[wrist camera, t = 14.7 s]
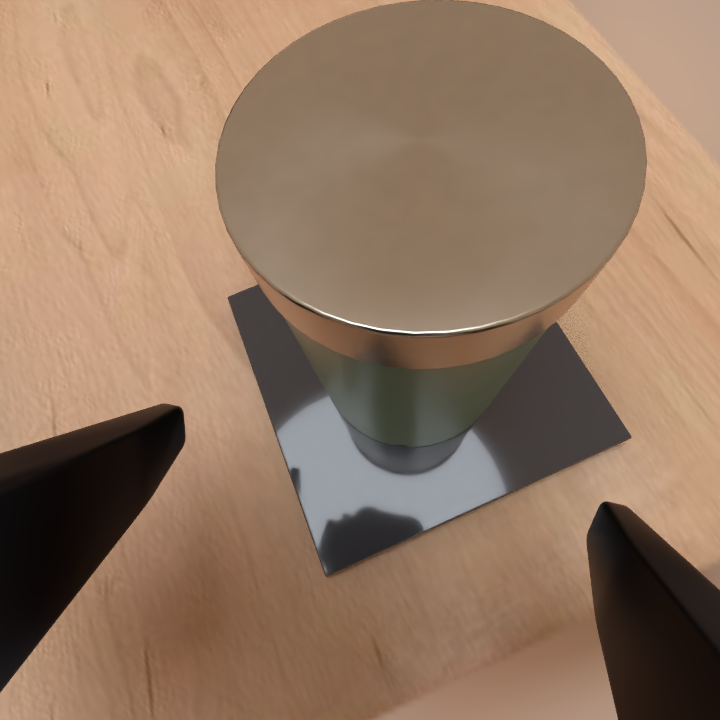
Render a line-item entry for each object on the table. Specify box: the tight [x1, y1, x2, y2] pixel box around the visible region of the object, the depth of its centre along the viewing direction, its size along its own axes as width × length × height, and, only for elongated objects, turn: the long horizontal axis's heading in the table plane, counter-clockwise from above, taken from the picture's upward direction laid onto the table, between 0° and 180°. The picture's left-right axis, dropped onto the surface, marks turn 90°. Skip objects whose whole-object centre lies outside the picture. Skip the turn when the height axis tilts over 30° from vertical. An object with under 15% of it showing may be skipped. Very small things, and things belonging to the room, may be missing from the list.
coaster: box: [228, 285, 631, 577], centre depth 17 cm, size 11×11×1 cm
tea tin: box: [215, 0, 647, 447], centre depth 12 cm, size 7×7×10 cm
